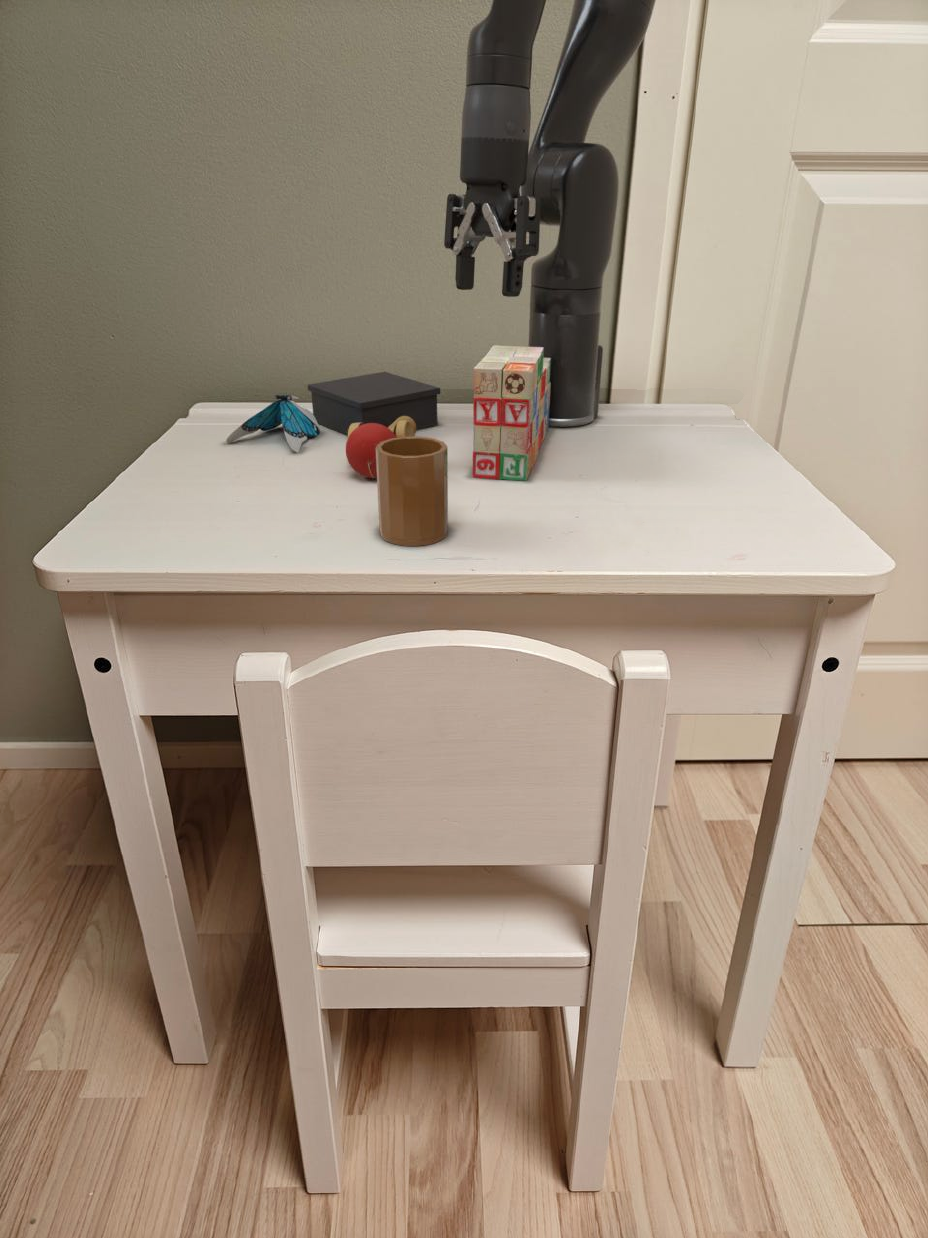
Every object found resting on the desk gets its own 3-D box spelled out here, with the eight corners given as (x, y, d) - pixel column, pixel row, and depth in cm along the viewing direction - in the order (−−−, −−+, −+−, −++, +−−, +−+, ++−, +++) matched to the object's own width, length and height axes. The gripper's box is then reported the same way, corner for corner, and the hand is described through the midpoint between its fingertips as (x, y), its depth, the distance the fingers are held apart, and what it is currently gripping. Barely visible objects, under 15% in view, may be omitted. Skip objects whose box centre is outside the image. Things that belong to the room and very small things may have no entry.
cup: (419, 515, 86) (417, 432, 82) (461, 535, 82) (461, 448, 78) (366, 531, 83) (362, 444, 79) (407, 552, 78) (404, 462, 74)
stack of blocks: (502, 426, 115) (505, 330, 109) (549, 429, 114) (554, 332, 108) (472, 477, 97) (473, 365, 91) (527, 481, 96) (532, 368, 90)
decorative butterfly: (338, 399, 111) (296, 397, 102) (335, 450, 113) (293, 452, 104) (271, 392, 115) (225, 389, 106) (269, 441, 116) (223, 442, 107)
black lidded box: (386, 406, 124) (385, 371, 122) (440, 425, 115) (440, 387, 113) (310, 421, 117) (307, 384, 114) (362, 442, 108) (360, 403, 106)
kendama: (369, 447, 111) (326, 472, 94) (378, 398, 108) (334, 415, 92) (427, 461, 110) (394, 489, 93) (437, 412, 108) (404, 432, 91)
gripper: (564, 137, 92) (551, 298, 99) (480, 140, 102) (473, 286, 109) (512, 131, 88) (502, 299, 95) (429, 135, 98) (425, 287, 105)
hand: (486, 292), depth 102 cm, fingers open, 8 cm apart
